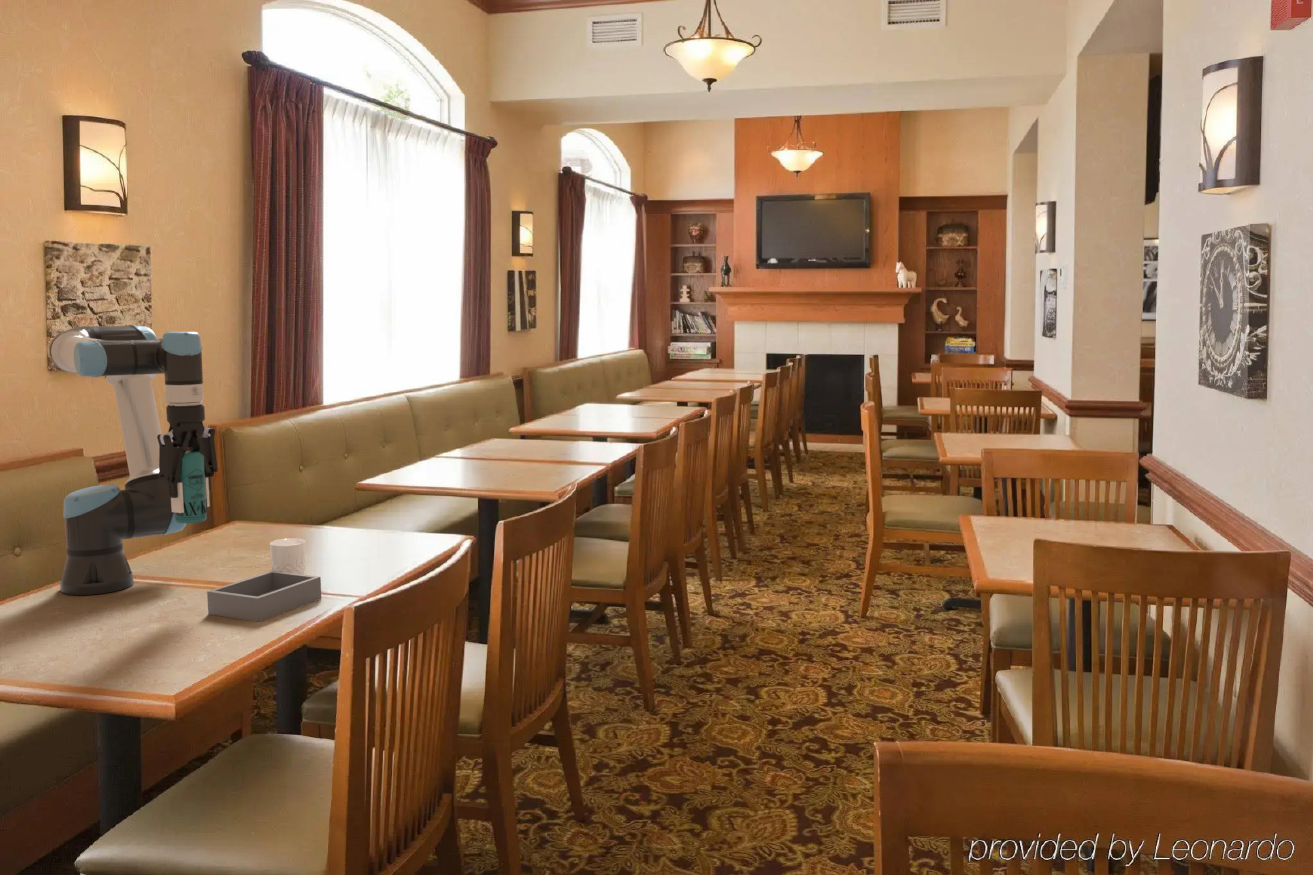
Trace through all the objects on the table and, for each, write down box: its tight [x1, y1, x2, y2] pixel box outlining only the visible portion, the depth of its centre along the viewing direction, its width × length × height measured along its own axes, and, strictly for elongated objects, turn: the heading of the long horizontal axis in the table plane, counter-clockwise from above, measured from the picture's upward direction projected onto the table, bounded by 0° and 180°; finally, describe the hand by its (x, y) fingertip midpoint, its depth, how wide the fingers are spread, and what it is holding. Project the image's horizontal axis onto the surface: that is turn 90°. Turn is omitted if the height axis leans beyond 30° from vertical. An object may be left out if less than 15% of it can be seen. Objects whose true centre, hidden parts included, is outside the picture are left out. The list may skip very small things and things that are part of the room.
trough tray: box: [206, 570, 322, 622], centre depth 232 cm, size 14×19×5 cm
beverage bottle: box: [175, 437, 208, 524], centre depth 230 cm, size 6×7×20 cm
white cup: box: [269, 538, 306, 575], centre depth 251 cm, size 8×8×10 cm
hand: (191, 509), depth 231 cm, fingers closed on beverage bottle, 6 cm apart
